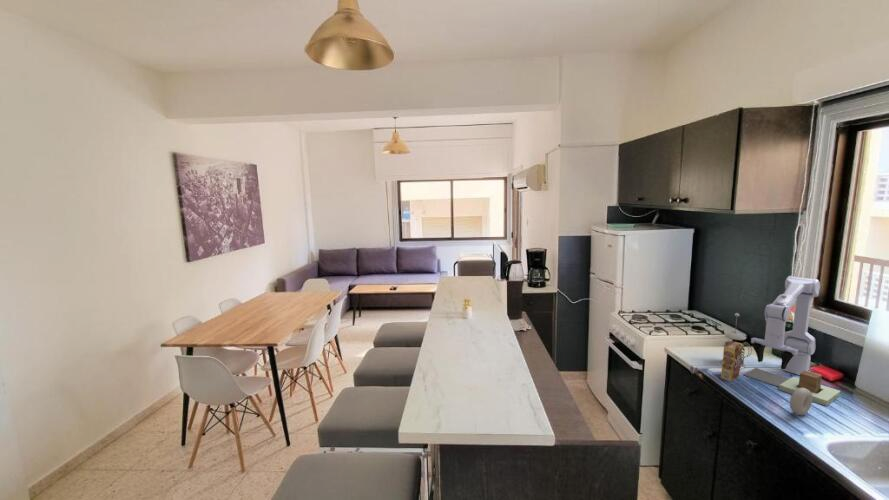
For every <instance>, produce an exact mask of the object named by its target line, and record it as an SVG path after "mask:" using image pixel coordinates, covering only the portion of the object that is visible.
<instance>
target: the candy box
mask: <svg viewBox="0 0 889 500" xmlns="http://www.w3.org/2000/svg"><path fill="white" fill-rule="evenodd" d="M729 342H730V343H729V344H727V345H726V344H724V345H725V346H724V345H723V352H724V354H723V353H722V354H723V355H722V359H723V362H722V363H721V372H720V378H721V379H722V380H725V381H728V382H733V381H734V380H735V379H736V378H738V377H739V376H740V370H741V368H740V363H741V354H743V353H742V351H743V350H742V346H743V345H744V343H743V344H742V343H741V342H737V341H735V342H734V341H729Z"/></svg>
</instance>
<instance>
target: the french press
mask: <svg viewBox="0 0 889 500" xmlns="http://www.w3.org/2000/svg"><path fill="white" fill-rule="evenodd" d="M734 316H735V318H736V319H735V325H738V324H737V323H738V322H737V321H738V317H740V314H739V313H738V312H736V313H734ZM736 331H737V328H735V331H732V332H725V333H724V337H726V338H727V339H730V340H734V341H733V342H736V341H744V342H742V343H741V344H743V346H742V354H741V363H740V369H742V368H741V367H744V366H745V365H746V364H745V362H744V361H745V358H748V357H750V356H751V355H752V349H753V348H752V346H751V345H750V344H749V343H748V342H747V341H745V340H746V339H747V337H746V336H744V335H743V334H740V333H739V332H736ZM730 342H731V341H725V342H724V345H723V347H724V346H725V345H727V344H729V343H730ZM745 346H746V347H747V348H748V350H750V352H748V353H747V355H746V356H745ZM722 354H724V351H723V353H722ZM722 362H723V358H722V359H720V361H719V363H720V364H722Z"/></svg>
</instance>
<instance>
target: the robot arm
mask: <svg viewBox="0 0 889 500" xmlns="http://www.w3.org/2000/svg"><path fill="white" fill-rule="evenodd" d="M820 282H821V281H819V279H817V278H815V279H814V278H806V277H799V276H798V277H797V276H792V275H788V276H787V277H786V279H785V282H784V288H785V291H784V293H781V294H779V295H778V296H777V297H776V298H775V300H773V302H771V303H769V304H767V305H766V306H765V308H764V317H765V318H764V320H765V333H764V334H765V335H764V339H763V338H757V337H751V339H750V343H751V344H752V349H753V350H754V352H755V355H756V357H757V361H758V362H759V363H762V362H763V361H764V352H765V348H766V347H767V348H770V349H774V350H777V351H781V354H780V355H781V364H780V370H781V369H782V370H781V371H785V372H788V373H791V374H796V375H798V376H800V373H801V372H803V371H804V370H807V371H808V370H809V369H810V367H811V356H812V355H813V354H815V352H816V346H817V345H816V338H815V337H814V336H813V335H811V334H810V333H809V332H808V329H809V323H810V322H809V321H810V316H811V314H810V313H811V307H812V300H813V298H817V297H819V295H820V290H821V289H820V288H821V283H820ZM794 306H795V308H794V315H793V317H794V318H793V324H792V330H788V331H786V324H787V321H788V320H789V318H790V314H791V309H792V308H793V307H794Z"/></svg>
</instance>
